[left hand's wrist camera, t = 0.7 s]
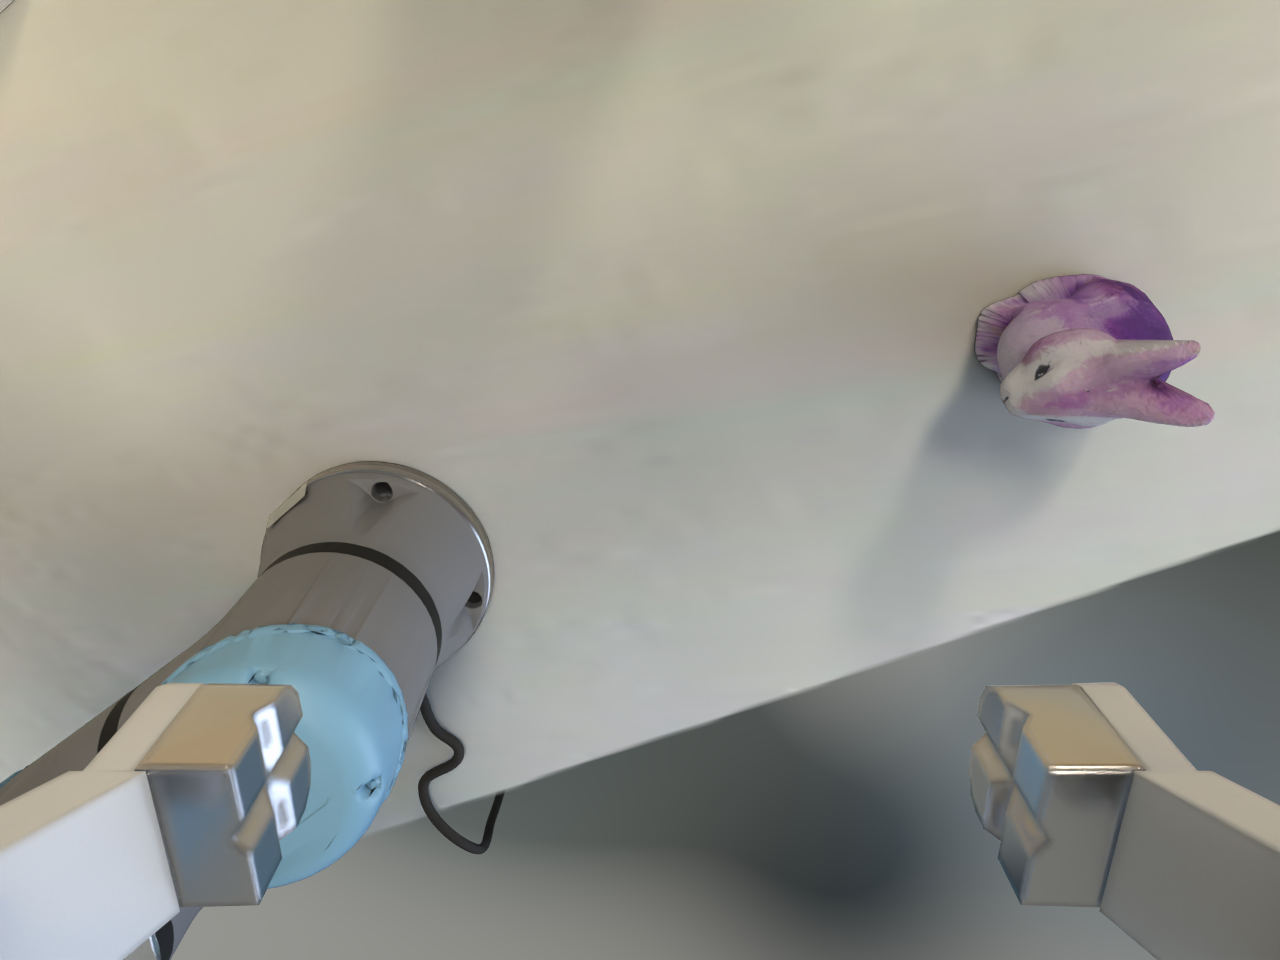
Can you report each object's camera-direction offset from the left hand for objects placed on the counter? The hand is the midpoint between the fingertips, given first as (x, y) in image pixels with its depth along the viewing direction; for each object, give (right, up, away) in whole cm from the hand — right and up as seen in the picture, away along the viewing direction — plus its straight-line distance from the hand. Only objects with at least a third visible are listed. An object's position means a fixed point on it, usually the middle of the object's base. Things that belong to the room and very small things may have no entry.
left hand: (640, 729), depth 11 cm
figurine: (+25, +12, +45) cm, 53 cm away
